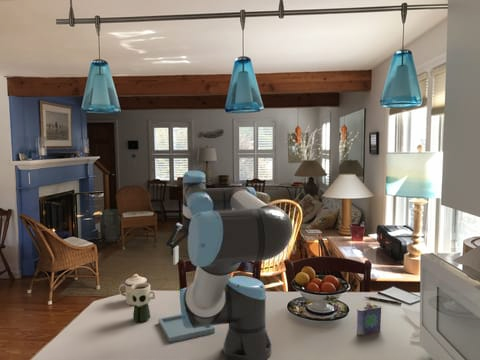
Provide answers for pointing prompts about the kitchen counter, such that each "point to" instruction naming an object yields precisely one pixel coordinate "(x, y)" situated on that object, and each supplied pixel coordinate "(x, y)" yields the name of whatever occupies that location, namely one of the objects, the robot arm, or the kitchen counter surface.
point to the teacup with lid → (129, 283)
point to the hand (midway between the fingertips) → (192, 266)
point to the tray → (181, 329)
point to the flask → (368, 319)
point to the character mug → (141, 300)
